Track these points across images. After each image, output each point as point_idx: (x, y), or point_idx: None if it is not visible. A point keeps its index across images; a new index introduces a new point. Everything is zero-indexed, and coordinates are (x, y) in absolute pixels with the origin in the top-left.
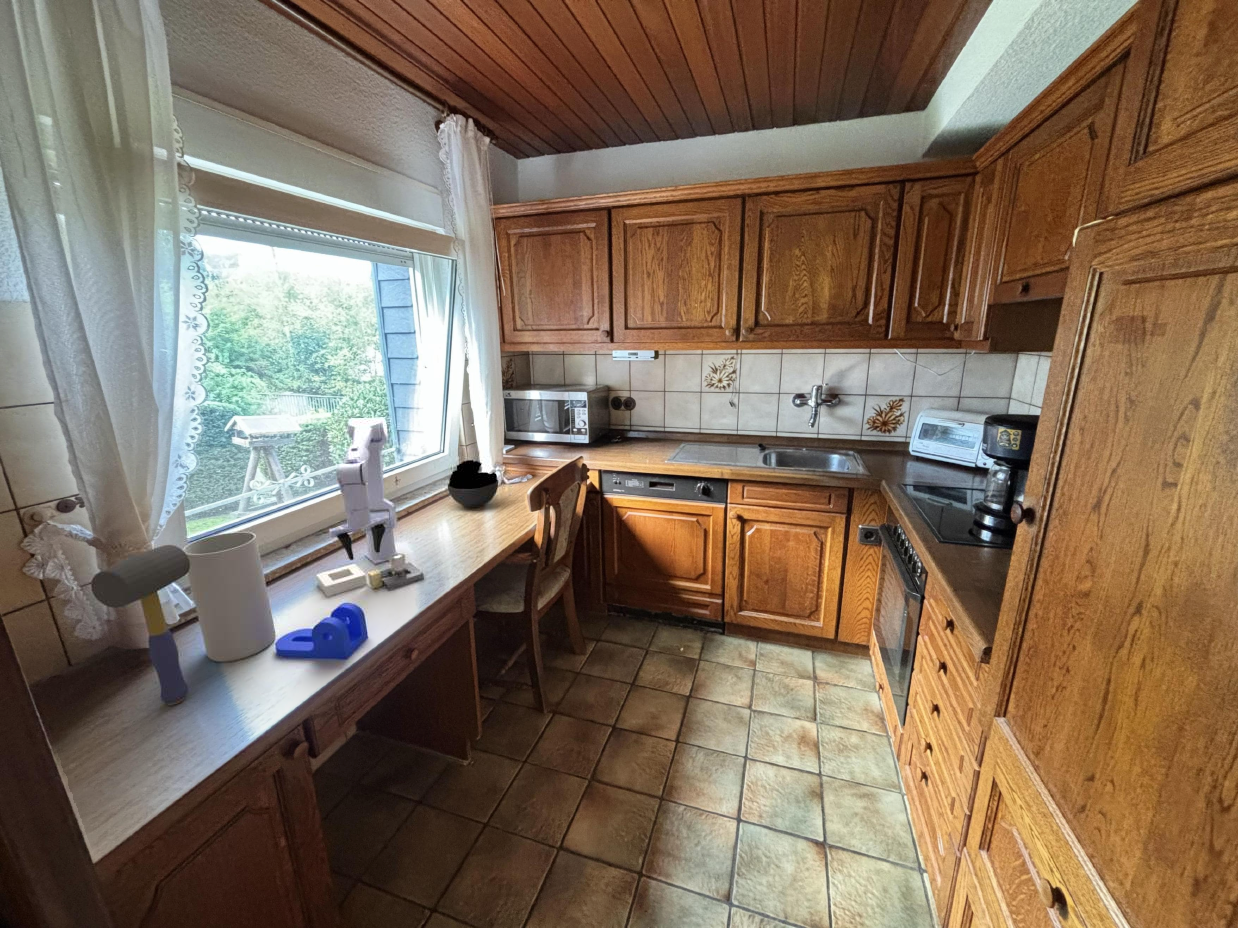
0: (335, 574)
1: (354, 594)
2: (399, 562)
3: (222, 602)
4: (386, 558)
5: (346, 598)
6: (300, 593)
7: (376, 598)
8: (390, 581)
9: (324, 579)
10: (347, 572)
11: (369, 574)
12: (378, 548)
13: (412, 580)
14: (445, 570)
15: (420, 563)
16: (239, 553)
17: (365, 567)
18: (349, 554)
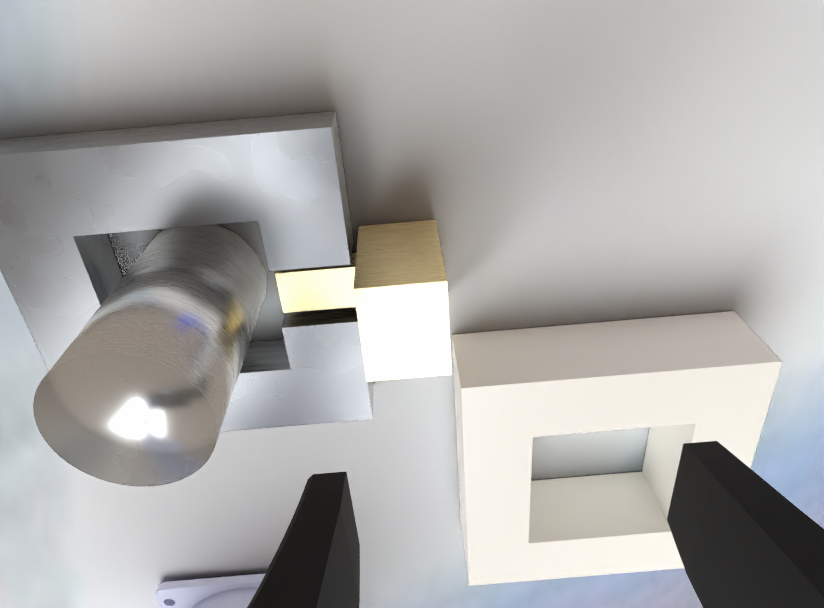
0: (613, 521)
1: (581, 225)
2: (126, 322)
3: None
4: (250, 591)
5: (654, 193)
6: (812, 450)
7: (466, 8)
8: (290, 176)
9: None
10: (532, 518)
11: (448, 334)
12: (314, 520)
13: (92, 136)
14: None
15: (24, 435)
16: None
17: (389, 559)
18: (797, 508)
